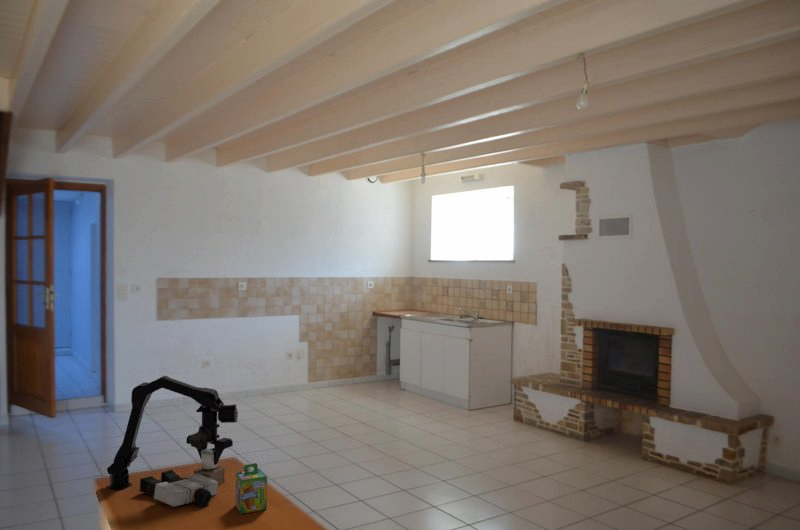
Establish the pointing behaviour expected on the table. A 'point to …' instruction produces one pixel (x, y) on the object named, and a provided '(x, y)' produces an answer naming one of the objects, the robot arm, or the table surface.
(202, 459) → the beaker
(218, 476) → the beige box
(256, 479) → the chalk box
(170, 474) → the toy
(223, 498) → the table surface
